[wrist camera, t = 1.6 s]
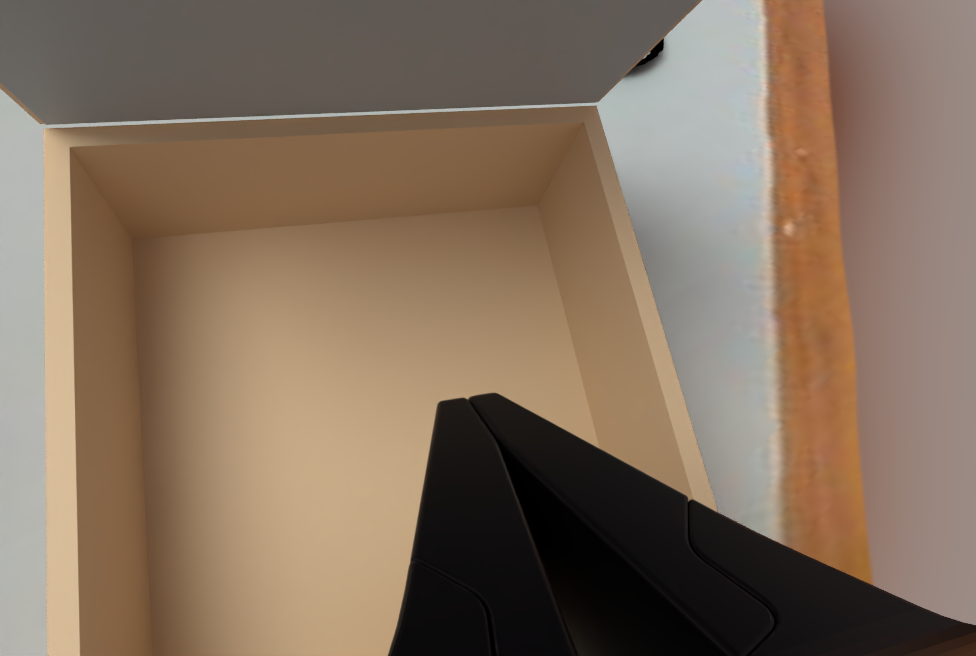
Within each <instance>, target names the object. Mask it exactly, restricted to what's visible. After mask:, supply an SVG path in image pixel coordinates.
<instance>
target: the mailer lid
mask: <svg viewBox="0 0 976 656" xmlns="http://www.w3.org/2000/svg"><path fill="white" fill-rule="evenodd" d="M701 1H702V0H0V88H1V89H2V90H3V91H4V92H5V93H6V94H7V95H8V96H9V97H11V98H12V99H13V100H14V101H15V102H16V103H17V104H18V105H20V106H21V107H22V108H23V109H24V110H25V111H26V112H27V113H28V114H30V115H31V116H32V117H33V118H34V119H35V120H36V121H37V122H38V123H40V124H46V125H48V124H73V123H97V122H122V121H147V120H172V119H197V118H222V117H247V116H272V115H296V114H321V113H346V112H371V111H396V110H421V109H446V108H470V107H495V106H520V105H545V104H570V103H595V102H599V101H600V100H601V99H602V98H603V97H604V96H605V95H606V94H607V93H608V92H609V91H610V90H611V89H612V88H613V87H614V86H615V85H616V84H617V83H618V82H619V81H620V80H621V79H622V78H623V77H624V76H625V75H626V74H627V73H628V72H629V71H630V70H631V69H632V68H633V67H634V66H635V65H636V64H638V63H639V62H640V61H641V60H642V59H643V58H644V57H645V56H646V55H647V54H648V53H649V52H650V51H651V50H652V49H653V48H654V47H655V46H656V45H657V44H658V43H659V42H660V41H661V40H662V39H663V38H664V37H665V36H666V35H667V34H668V33H669V32H670V31H671V30H672V29H673V28H674V27H675V26H676V25H677V24H678V23H679V22H680V21H681V20H682V19H683V18H684V17H685V16H686V15H687V14H688V13H689V12H690V11H692V10H693V9H694V8H695V7H696V6H697V5H698V4H699V3H700V2H701Z"/></svg>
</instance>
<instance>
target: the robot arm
mask: <svg viewBox="0 0 976 656" xmlns="http://www.w3.org/2000/svg"><path fill="white" fill-rule="evenodd" d="M388 656H976V625H972V624H968V623H963V622H960V621H957V620H954V619H951V618H947V617H944V616H941V615H939V614H937V613H934V612H931V611H929V610H927V609H924V608H922V607H920V606H917V605H915V604H913V603H911V602H908V601H906V600H904V599H902V598H899V597H897V596H895V595H893V594H890V593H888V592H886V591H884V590H882V589H879V588H877V587H875V586H873V585H870V584H868V583H866V582H864V581H862V580H859V579H857V578H855V577H853V576H850V575H848V574H846V573H844V572H841V571H839V570H837V569H835V568H833V567H830V566H828V565H826V564H824V563H821V562H819V561H817V560H815V559H812V558H810V557H808V556H806V555H804V554H801V553H799V552H797V551H795V550H793V549H791V548H789V547H787V546H784V545H782V544H780V543H778V542H776V541H774V540H772V539H770V538H767V537H765V536H763V535H761V534H759V533H757V532H755V531H753V530H751V529H749V528H747V527H745V526H743V525H741V524H739V523H737V522H736V521H734V520H732V519H730V518H728V517H726V516H724V515H722V514H720V513H718V512H716V511H714V510H713V509H711V508H709V507H707V506H705V505H703V504H701V503H700V502H698V501H696V500H694V499H690V500H689V502H688V497H687V496H686V495H684V494H683V493H681V492H679V491H677V490H675V489H673V488H672V487H670V486H668V485H666V484H664V483H662V482H661V481H659V480H657V479H655V478H653V477H651V476H649V475H648V474H646V473H644V472H642V471H640V470H638V469H637V468H635V467H633V466H631V465H629V464H627V463H626V462H624V461H622V460H620V459H618V458H616V457H614V456H613V455H611V454H609V453H607V452H605V451H603V450H602V449H600V448H598V447H596V446H594V445H592V444H590V443H589V442H587V441H585V440H583V439H581V438H579V437H578V436H576V435H574V434H572V433H570V432H568V431H567V430H565V429H563V428H561V427H559V426H557V425H555V424H554V423H552V422H550V421H548V420H546V419H544V418H543V417H541V416H539V415H537V414H535V413H533V412H531V411H530V410H528V409H526V408H524V407H522V406H520V405H519V404H517V403H515V402H513V401H511V400H509V399H508V398H506V397H504V396H502V395H500V394H498V393H486V394H480V395H474V396H471V397H469V398H468V399H466V398H463V397H462V398H456V399H449V400H443V401H440V402H438V404H437V408H436V414H435V420H434V426H433V431H432V437H431V443H430V449H429V455H428V460H427V466H426V472H425V478H424V483H423V489H422V495H421V501H420V506H419V512H418V518H417V524H416V530H415V535H414V541H413V547H412V553H411V558H410V564H409V567H408V573H407V579H406V585H405V590H404V595H403V599H402V604H401V609H400V613H399V618H398V622H397V626H396V630H395V633H394V636H393V640H392V643H391V646H390V650H389V653H388Z"/></svg>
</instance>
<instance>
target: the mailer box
mask: <svg viewBox="0 0 976 656" xmlns="http://www.w3.org/2000/svg"><path fill="white" fill-rule="evenodd" d="M44 269H45V410H46V551H47V656H388V653H389V650H390V646H391V643H392V640H393V636H394V633H395V630H396V626H397V622H398V618H399V613H400V609H401V604H402V599H403V595H404V590H405V585H406V579H407V573H408V567H409V564H410V558H411V553H412V547H413V541H414V535H415V530H416V524H417V518H418V512H419V506H420V501H421V495H422V489H423V483H424V478H425V472H426V466H427V460H428V455H429V449H430V443H431V437H432V431H433V426H434V420H435V414H436V408H437V404H438V402H440V401H443V400H449V399H456V398H462V397H463V398H466V399H468V398H469V397H471V396H474V395H480V394H486V393H498V394H500V395H502V396H504V397H506V398H508V399H509V400H511V401H513V402H515V403H517V404H519V405H520V406H522V407H524V408H526V409H528V410H530V411H531V412H533V413H535V414H537V415H539V416H541V417H543V418H544V419H546V420H548V421H550V422H552V423H554V424H555V425H557V426H559V427H561V428H563V429H565V430H567V431H568V432H570V433H572V434H574V435H576V436H578V437H579V438H581V439H583V440H585V441H587V442H589V443H590V444H592V445H594V446H596V447H598V448H600V449H602V450H603V451H605V452H607V453H609V454H611V455H613V456H614V457H616V458H618V459H620V460H622V461H624V462H626V463H627V464H629V465H631V466H633V467H635V468H637V469H638V470H640V471H642V472H644V473H646V474H648V475H649V476H651V477H653V478H655V479H657V480H659V481H661V482H662V483H664V484H666V485H668V486H670V487H672V488H673V489H675V490H677V491H679V492H681V493H683V494H684V495H686V496H687V497H688V502H689V500H690V499H694V500H696V501H698V502H700V503H701V504H703V505H705V506H707V507H709V508H711V509H713V510H714V511H716V512H718V511H717V507H716V504H715V501H714V497H713V494H712V491H711V487H710V484H709V481H708V477H707V474H706V471H705V467H704V464H703V461H702V457H701V454H700V450H699V447H698V444H697V440H696V437H695V434H694V430H693V427H692V424H691V420H690V417H689V414H688V410H687V407H686V404H685V400H684V397H683V394H682V390H681V387H680V384H679V380H678V377H677V374H676V370H675V367H674V364H673V360H672V357H671V354H670V350H669V347H668V344H667V340H666V337H665V334H664V330H663V327H662V324H661V320H660V317H659V314H658V310H657V307H656V303H655V300H654V297H653V293H652V290H651V287H650V283H649V280H648V277H647V273H646V270H645V267H644V263H643V260H642V257H641V253H640V250H639V247H638V243H637V240H636V237H635V233H634V230H633V227H632V223H631V220H630V217H629V213H628V210H627V207H626V203H625V200H624V197H623V193H622V190H621V187H620V183H619V180H618V177H617V173H616V170H615V166H614V163H613V160H612V156H611V153H610V150H609V146H608V143H607V140H606V136H605V133H604V130H603V126H602V123H601V120H600V116H599V113H598V110H597V106H577V107H553V108H529V109H505V110H481V111H457V112H433V113H409V114H385V115H361V116H337V117H313V118H289V119H265V120H241V121H217V122H193V123H169V124H145V125H121V126H97V127H73V128H49V129H44Z"/></svg>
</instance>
